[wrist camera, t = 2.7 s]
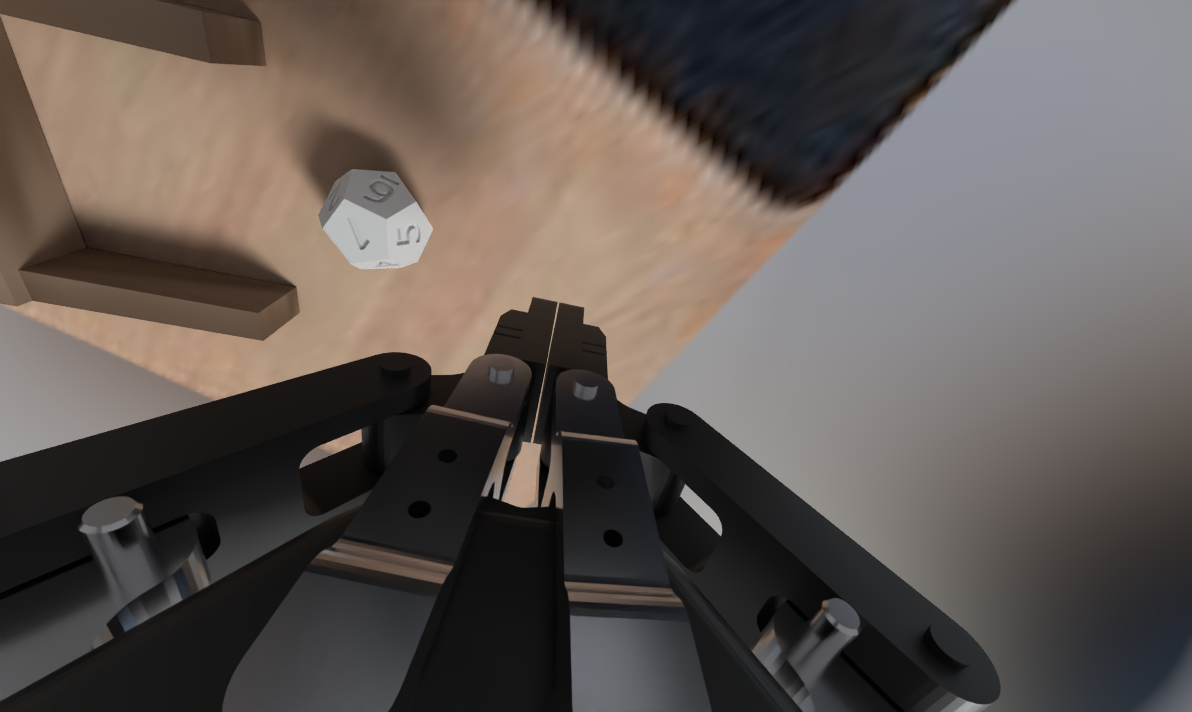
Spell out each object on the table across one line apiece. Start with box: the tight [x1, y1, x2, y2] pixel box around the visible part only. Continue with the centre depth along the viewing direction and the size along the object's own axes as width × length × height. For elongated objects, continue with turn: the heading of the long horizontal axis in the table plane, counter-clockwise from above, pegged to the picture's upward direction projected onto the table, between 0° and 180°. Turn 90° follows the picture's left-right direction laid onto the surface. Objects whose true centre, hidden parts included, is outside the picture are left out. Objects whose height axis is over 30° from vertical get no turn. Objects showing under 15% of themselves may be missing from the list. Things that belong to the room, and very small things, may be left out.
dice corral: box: [0, 0, 300, 341], centre depth 15 cm, size 10×9×3 cm
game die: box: [318, 169, 433, 269], centre depth 16 cm, size 4×4×3 cm
